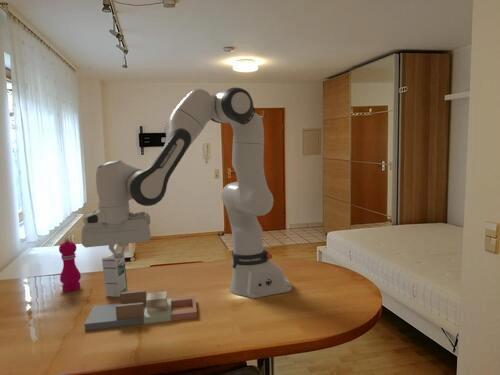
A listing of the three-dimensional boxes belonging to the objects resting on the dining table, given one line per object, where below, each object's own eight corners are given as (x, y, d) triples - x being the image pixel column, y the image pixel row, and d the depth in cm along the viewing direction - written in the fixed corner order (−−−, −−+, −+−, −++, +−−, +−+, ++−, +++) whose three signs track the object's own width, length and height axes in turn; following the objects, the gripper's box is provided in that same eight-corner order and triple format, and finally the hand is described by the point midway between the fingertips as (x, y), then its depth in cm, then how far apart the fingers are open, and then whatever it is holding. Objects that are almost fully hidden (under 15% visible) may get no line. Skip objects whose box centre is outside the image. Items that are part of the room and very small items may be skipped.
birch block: (167, 302, 131) (166, 291, 131) (166, 310, 125) (165, 298, 125) (148, 304, 130) (147, 293, 130) (147, 312, 124) (146, 300, 124)
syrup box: (119, 297, 143) (116, 257, 141) (104, 296, 144) (101, 257, 142) (127, 291, 148) (124, 253, 146) (113, 290, 149) (110, 252, 148)
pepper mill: (61, 293, 148) (56, 241, 145) (60, 287, 154) (55, 237, 152) (82, 289, 151) (77, 238, 149) (80, 284, 157) (76, 234, 155)
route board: (195, 301, 137) (194, 284, 136) (197, 317, 124) (196, 299, 123) (94, 311, 131) (92, 294, 130) (85, 330, 118) (83, 311, 117)
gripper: (150, 209, 127) (154, 251, 129) (82, 215, 124) (87, 258, 125) (148, 213, 121) (152, 257, 123) (77, 219, 117) (82, 264, 119)
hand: (119, 257), depth 124 cm, fingers closed
